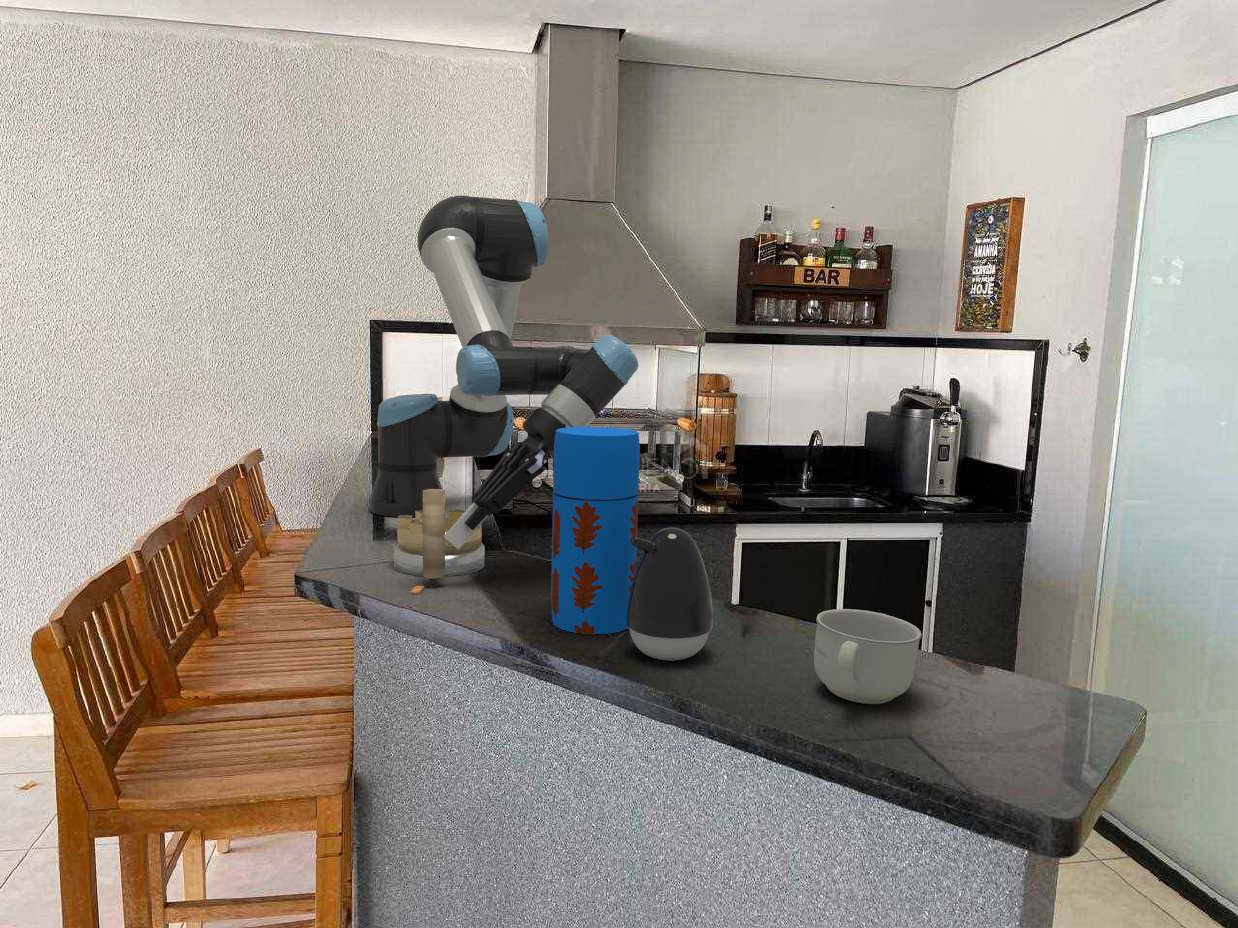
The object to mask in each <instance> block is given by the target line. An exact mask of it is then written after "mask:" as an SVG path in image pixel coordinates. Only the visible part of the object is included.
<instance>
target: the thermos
mask: <svg viewBox="0 0 1238 928" xmlns="http://www.w3.org/2000/svg"><path fill="white" fill-rule="evenodd" d="M640 451H641V444H640V433H639V432H638V431H637V430H634V429H629V428H628V429H627V428H622V427H621V428H618V427H603V426H591V427H569V428H561V429H557V430H556V434H555V441H554V456H553V476H552V477H553V481H552V488H553V489H552V491H553V492H552V525H551V526H552V532H551V534H552V535H551V579H550V580H551V583H550V585H551V586H550V587H551V589H550V597H551V599H550V601H551V622H552V621H553V622H552V625H553V626H554V625H555V626H557V627H558V628H560V629H562V630H561V631H563V630H566V631H569V632H574V633H573V634H575V633H585V634H608V635H610V634H609V633H615V632H619V631H623V630H625V629H626V628H628V626H627V623H626V616H627V607H628V601H629V595H630V590H631V586H632V582H633V579H634V576H635V572H636V569H637V549H638V548H636V547H634V546H632V545H631V540H632V538H633V537H637V538H638V515H639V487H640V486H639V485H640V484H639V483H640V480H639V479H640V457H641V456H640V454H641V452H640ZM555 626H554V627H555ZM558 628H557V629H558ZM560 629H559V630H560ZM566 631H565V632H566ZM625 631H626V630H625ZM569 632H568V633H569ZM623 632H624V631H623ZM619 633H620V632H619ZM615 634H616V633H615Z"/></svg>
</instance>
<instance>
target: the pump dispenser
mask: <svg viewBox="0 0 1238 928" xmlns="http://www.w3.org/2000/svg"><path fill="white" fill-rule="evenodd" d="M631 545H632V546H634V547H636V548H637V549H638V550H640V551H642V552H643V553H642V554H641V557H640V559H639V562H638V564H637V566H636V572H635V576H634V579H633V582H632V586H631V590H630V595H629V601H628V607H627V616H626V623H627V626H628V627H629V629H628V630H629V634H630V636H631V639H632V642H633V643H634V645H635V647H636V648H637V649H638V650H639V651H640V652H641V653H643V654H644V655H646V656H648V657H650V658H652V659H656V660H660V661H665V660H666V661H669V662H675V661H676V660H677V661H683V660H686V659H688V658H691V657H693V656H694V655H696V654H698V653H699V652H700V651H701V650H702V648H703V647H704V646H705V644H706V642H707V641H708V637H709V635H710V631H712V629H713V627H714V626H713V625H714V612H713V611H714V610H713V602H712V601H713V600H712V592H711V587H710V583H709V577H708V573H707V569H706V566H705V563H704V559H703V558H702V554H701V551H700V549H699V548H698V545H697V544H696V542H695V540H694V539H693V537H692V536H691V535H690V533H688V531H685V530H684V529H681V528H678V527H665V528H662V529H660V530H659V531H658V532H656V533H655V534H654V535H653V536H652V537H651V539H650V540H647V539H643V538H641V537H638V536H637V537H633V538H632V540H631ZM677 661H676V662H677Z"/></svg>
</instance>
